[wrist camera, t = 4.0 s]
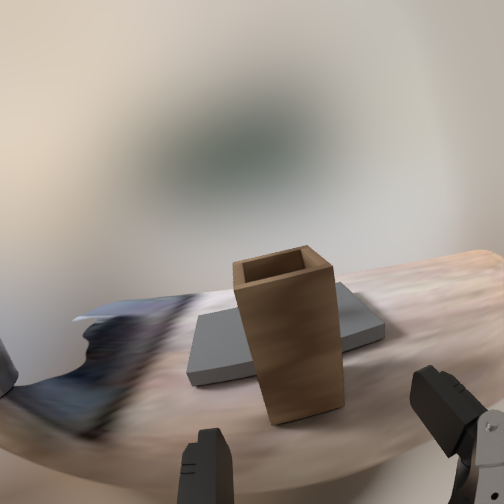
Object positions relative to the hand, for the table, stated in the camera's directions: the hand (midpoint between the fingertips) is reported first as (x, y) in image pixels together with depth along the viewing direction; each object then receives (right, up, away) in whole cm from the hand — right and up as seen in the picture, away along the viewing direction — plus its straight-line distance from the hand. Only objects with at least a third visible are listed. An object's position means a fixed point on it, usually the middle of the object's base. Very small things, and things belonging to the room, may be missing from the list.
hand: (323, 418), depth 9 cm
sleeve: (+1, -4, +9) cm, 10 cm away
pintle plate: (0, -2, +18) cm, 18 cm away
